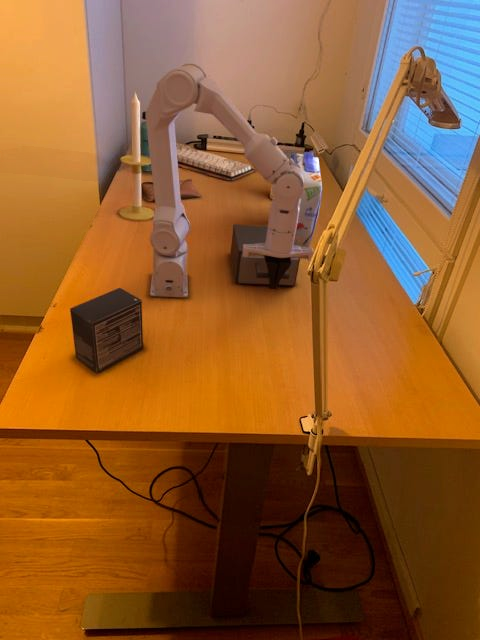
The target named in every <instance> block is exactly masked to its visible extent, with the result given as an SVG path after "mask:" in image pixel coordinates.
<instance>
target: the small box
mask: <svg viewBox="0 0 480 640" xmlns="http://www.w3.org/2000/svg"><path fill="white" fill-rule="evenodd" d="M142 303H143V299H141V298H139V297H138V296H136V295H134V294H132V293H131V292H129V291H127V290H125V289H123V288H122V287H118V288H114V289H113V290H110V291H108V292H106V293H103V294H101V295H99V296H96V297H94V298H91V299H89V300H87V301H84V302H81V303H80V304H78V305H75V306H72V307H70V308H69V313H70V320H71V327H72V328H71V329H72V335H73V336H72V337H73V345H74V352H75V359H77V360H78V361H79V362H80V363H82V364H83V365H84V366H86V367H87V368H89V369H90V370H91V371H92V372H94V373H95V374H99V373H101V372H102V371H105V370H107V369H108V368H110V367H111V366H114V365H116V364H117V363H119V362H121V361H123V360H126V358H129V357H131V356H132V355H134V354H136V353H137V352H139V351H142V350H144V346H145V345H144V334H143V333H144V331H143V330H144V329H143V304H142Z"/></svg>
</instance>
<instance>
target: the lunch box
mask: <svg viewBox="0 0 480 640" xmlns="http://www.w3.org/2000/svg"><path fill="white" fill-rule="evenodd" d="M298 153H299V152H296V154H294V153H293V154H292V155H291V157H290V158H292V159H293V160H294V163H295V164H297V165H299V166H300V169H301V170H302V172H303V175H304V192H303V194H302V196H301V201H300V204H299V207H300V210H299V216H298V222H297V228H296V233H295V242H296V244H297V246H300V247H306V248H309V247H310V244H311V242H312V239H313V236H314V233H315V229H316V227H317V223H318V218H319V214H320V208H321V202H322V201H321V200H322V194H323V193H322V192H323V183H322V182H323V181H322V176H321V168H320V161H319V160H320V159H319V157H317V156H314V151H304V152H303V153H300V154H298ZM302 154H303V155H302Z"/></svg>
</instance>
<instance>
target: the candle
mask: <svg viewBox="0 0 480 640" xmlns="http://www.w3.org/2000/svg"><path fill="white" fill-rule="evenodd" d="M130 105H131V107H130V109H131V112H130V113H131V154H127V155H123V156H121V157H120V159H119V161H120V162H121V163H122V164H124V165H127V166H131V194H132V195H131V198H132V201H131V202H132V203H131V205H132V206H126V207H122V208H121V209H120V210H119V212H118V215H119V216H120V217H122V218H124V219H125V220H130V221H147V220H150V219H153V217H154V212H155V210H153V209H151V208H150V207H146V206H142V196H141V184H142V170H141V166H145V165H149V164H151V160H150V158H149V157H146V156H141V155H140V124H141V101H140V100H139V99H138V95H137V93H136V90H134V93H133V98H132V100H131V101H130Z"/></svg>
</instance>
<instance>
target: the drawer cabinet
mask: <svg viewBox="0 0 480 640" xmlns="http://www.w3.org/2000/svg"><path fill="white" fill-rule="evenodd" d="M267 228H268V225H253V224H235V223H234V224H232V230H231V231H232V233H231V242H230V243H231V244H230V253H229V255H230V256H229V257H230V261H231V268H232V273H233V279H234V284H235V285H236V284H237V285H238V284H239V285H255V284H254V283H239V281H238V278H239V270H240V261H241V255H242V254H243V253H242V252H243V244H258V243H266V236H267ZM294 245H295V246H297V244H296V242H295V239H294ZM298 259H299V261H298V266H297V272H296V277H295V282H294V285H282V286H287V287H295V286H296V283H297V277H298V272H299V266H300V261H301V258H298ZM257 285H259V286H260V285H261V286H269V284H257ZM278 286H280V285H279V284H278Z"/></svg>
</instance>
